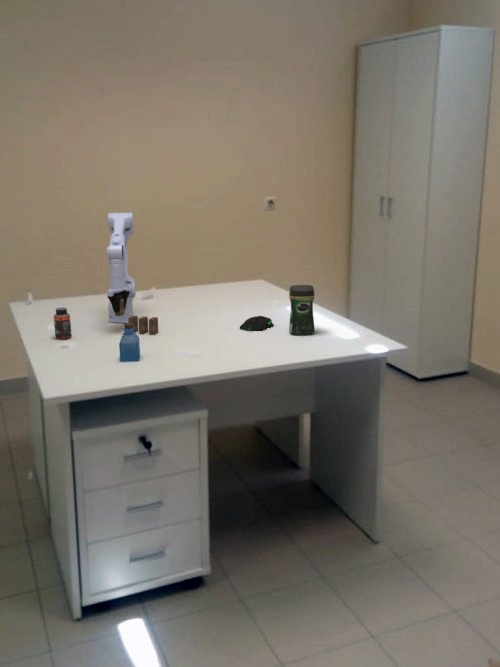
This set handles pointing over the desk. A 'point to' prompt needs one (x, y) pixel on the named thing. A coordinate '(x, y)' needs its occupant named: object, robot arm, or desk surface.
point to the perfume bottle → (129, 344)
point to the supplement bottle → (62, 324)
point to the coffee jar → (301, 310)
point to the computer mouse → (257, 324)
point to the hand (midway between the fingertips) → (119, 311)
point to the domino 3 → (153, 325)
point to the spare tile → (121, 309)
